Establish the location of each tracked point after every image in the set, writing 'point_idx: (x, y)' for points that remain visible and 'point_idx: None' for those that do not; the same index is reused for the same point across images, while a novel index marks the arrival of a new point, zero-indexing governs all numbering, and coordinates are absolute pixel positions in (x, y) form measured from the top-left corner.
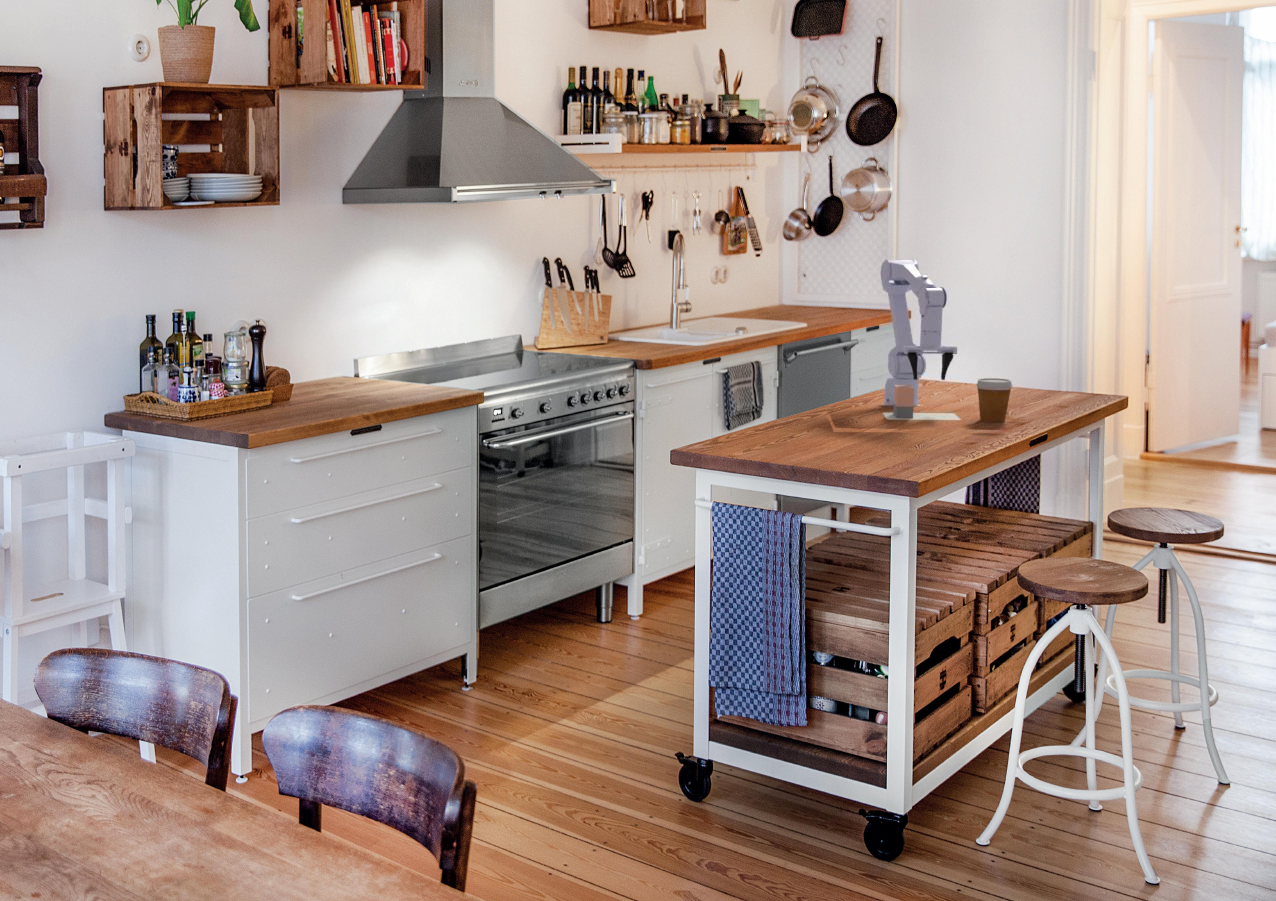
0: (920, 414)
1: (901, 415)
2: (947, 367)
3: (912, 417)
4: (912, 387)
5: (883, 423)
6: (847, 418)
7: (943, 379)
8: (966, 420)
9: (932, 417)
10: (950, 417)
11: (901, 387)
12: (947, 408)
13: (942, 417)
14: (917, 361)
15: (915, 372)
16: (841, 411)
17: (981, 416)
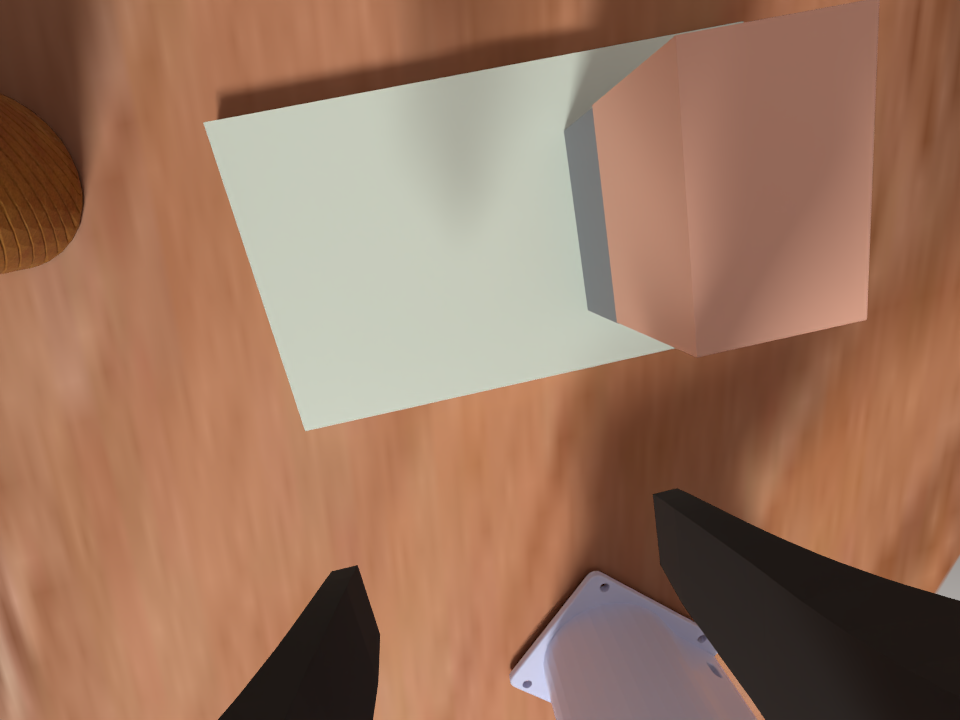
0: (517, 316)
1: None
2: (226, 715)
3: (568, 128)
4: (689, 157)
5: (749, 10)
6: (946, 177)
7: (341, 569)
8: (208, 300)
9: (429, 201)
10: (304, 238)
11: (819, 118)
12: (384, 689)
13: (360, 221)
14: (875, 648)
15: (731, 526)
16: (939, 427)
17: (13, 121)
